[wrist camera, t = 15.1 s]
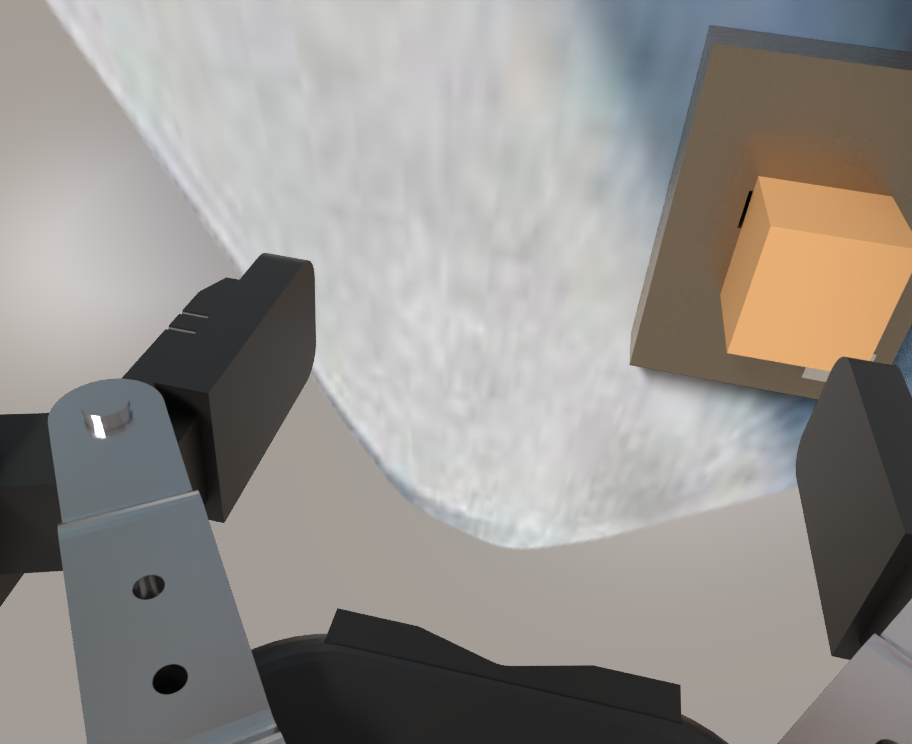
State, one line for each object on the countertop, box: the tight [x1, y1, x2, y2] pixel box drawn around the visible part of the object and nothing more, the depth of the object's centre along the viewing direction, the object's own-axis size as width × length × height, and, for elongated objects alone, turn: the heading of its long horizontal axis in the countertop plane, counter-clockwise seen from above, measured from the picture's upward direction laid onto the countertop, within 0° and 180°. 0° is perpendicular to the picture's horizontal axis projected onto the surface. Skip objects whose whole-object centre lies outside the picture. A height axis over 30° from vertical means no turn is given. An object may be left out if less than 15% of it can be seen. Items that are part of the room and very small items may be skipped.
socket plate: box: [630, 25, 912, 399], centre depth 38 cm, size 16×12×4 cm
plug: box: [720, 176, 912, 371], centre depth 36 cm, size 6×6×8 cm
